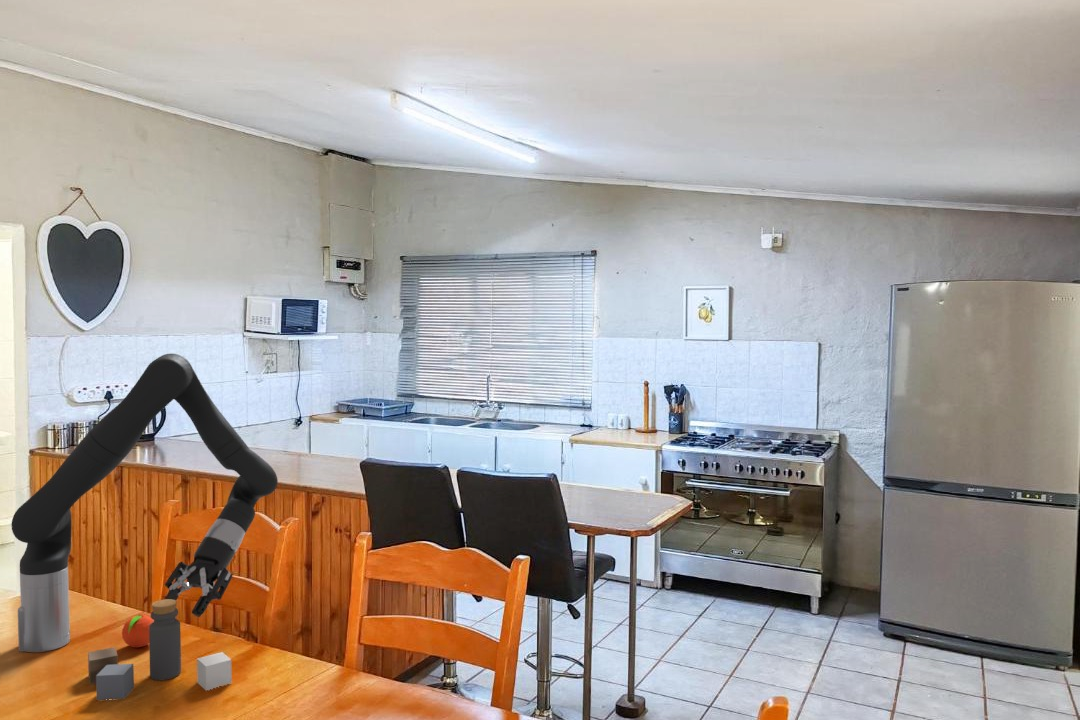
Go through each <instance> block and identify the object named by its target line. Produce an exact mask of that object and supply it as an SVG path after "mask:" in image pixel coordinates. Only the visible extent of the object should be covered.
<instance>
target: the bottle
mask: <svg viewBox="0 0 1080 720" xmlns="http://www.w3.org/2000/svg"><path fill="white" fill-rule="evenodd" d="M177 603H178V601H177V600H173V599H165V598H164V599H160V600H156V601H153V603H152V604H151V607H152V608H151V609H152V612H151V611H150V612H151V613H150V617H151V618H152V619H153V620H154V622H153V623H151V624H150V626H149V643H148V644H149V645H148V646H149V677H150V678H151V679H152V680H155V681H165V680H170V679H174V678H177V677H178V676H180V675H181V673H182V643H181V642H182V641H181V640H182V638H181V621H180V620H179V619H178V618H176V617H177V616H178V615H179V609H178V608H177Z"/></svg>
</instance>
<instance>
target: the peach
mask: <svg viewBox="0 0 1080 720" xmlns="http://www.w3.org/2000/svg"><path fill="white" fill-rule="evenodd" d="M153 622H154V620H153V619H152V618H151V616H148V615H146V614H136V615H134V616H131V617H130V618H129V619H128V620H127V621H126V622H125V623H124V625H123V627H122V630H121V636H122V640H123V641H124V643H125V644H126V645H128V646H129V647H130V648H131V647H132V648H141V647H145V646H147V645H148V644H149V626H150V624H151V623H153Z"/></svg>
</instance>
